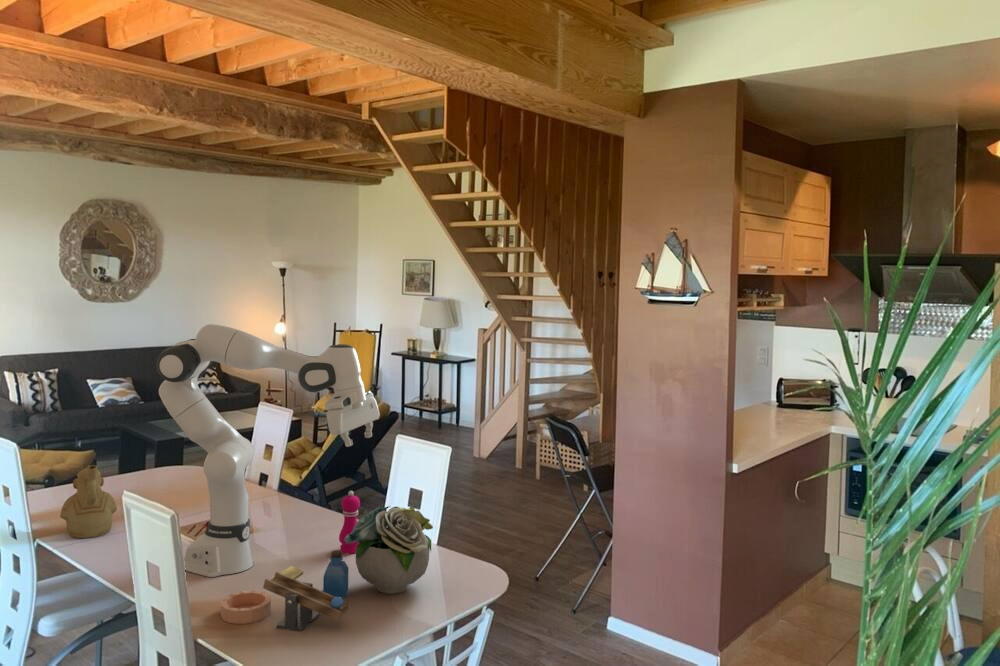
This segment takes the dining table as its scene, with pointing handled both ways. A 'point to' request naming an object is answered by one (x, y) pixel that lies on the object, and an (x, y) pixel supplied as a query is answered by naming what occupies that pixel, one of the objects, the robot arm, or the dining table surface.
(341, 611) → the lever
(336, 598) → the ball
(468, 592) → the dining table surface
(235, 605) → the orange round tray
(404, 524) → the flower arrangement
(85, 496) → the ceramic vessel
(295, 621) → the fulcrum
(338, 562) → the perfume bottle
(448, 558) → the dining table surface
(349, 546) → the pepper mill
